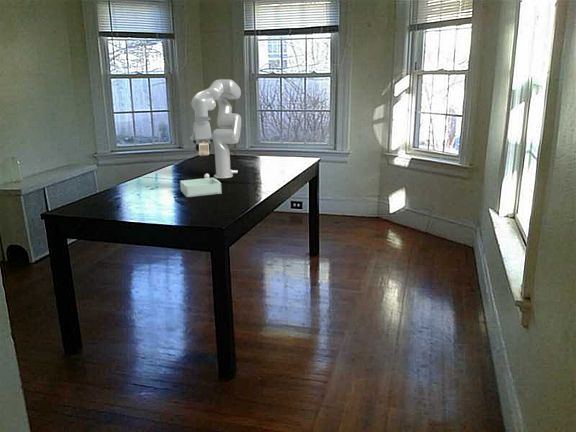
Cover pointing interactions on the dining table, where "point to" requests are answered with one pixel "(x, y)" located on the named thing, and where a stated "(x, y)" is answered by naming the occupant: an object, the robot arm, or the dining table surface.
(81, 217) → the dining table surface
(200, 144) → the drawer
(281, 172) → the dining table surface
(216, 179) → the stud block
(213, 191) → the bin
